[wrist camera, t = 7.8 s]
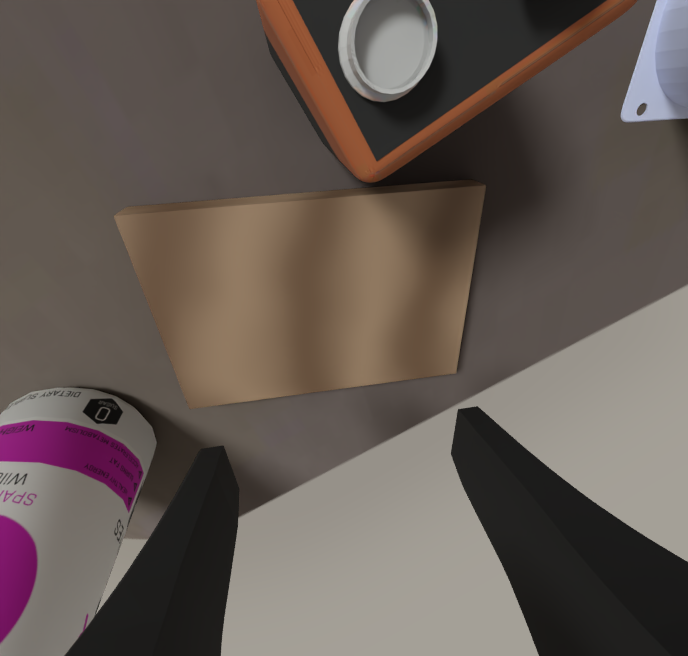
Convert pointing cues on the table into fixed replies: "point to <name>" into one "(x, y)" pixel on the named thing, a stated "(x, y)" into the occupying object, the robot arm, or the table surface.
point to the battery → (415, 65)
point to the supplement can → (64, 510)
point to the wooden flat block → (308, 286)
